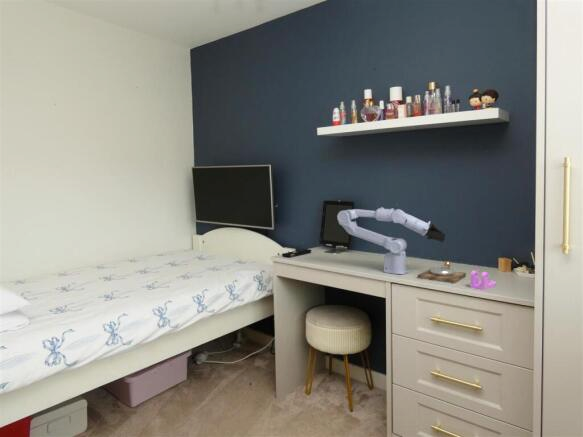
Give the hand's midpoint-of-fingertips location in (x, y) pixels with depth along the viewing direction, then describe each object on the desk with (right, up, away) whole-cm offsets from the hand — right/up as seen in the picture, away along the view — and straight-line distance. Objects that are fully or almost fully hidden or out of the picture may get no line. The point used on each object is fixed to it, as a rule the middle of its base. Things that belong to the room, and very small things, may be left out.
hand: (444, 238), depth 190 cm
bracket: (+11, -19, -16) cm, 27 cm away
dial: (0, -15, +2) cm, 15 cm away
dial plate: (-1, -17, 0) cm, 17 cm away
